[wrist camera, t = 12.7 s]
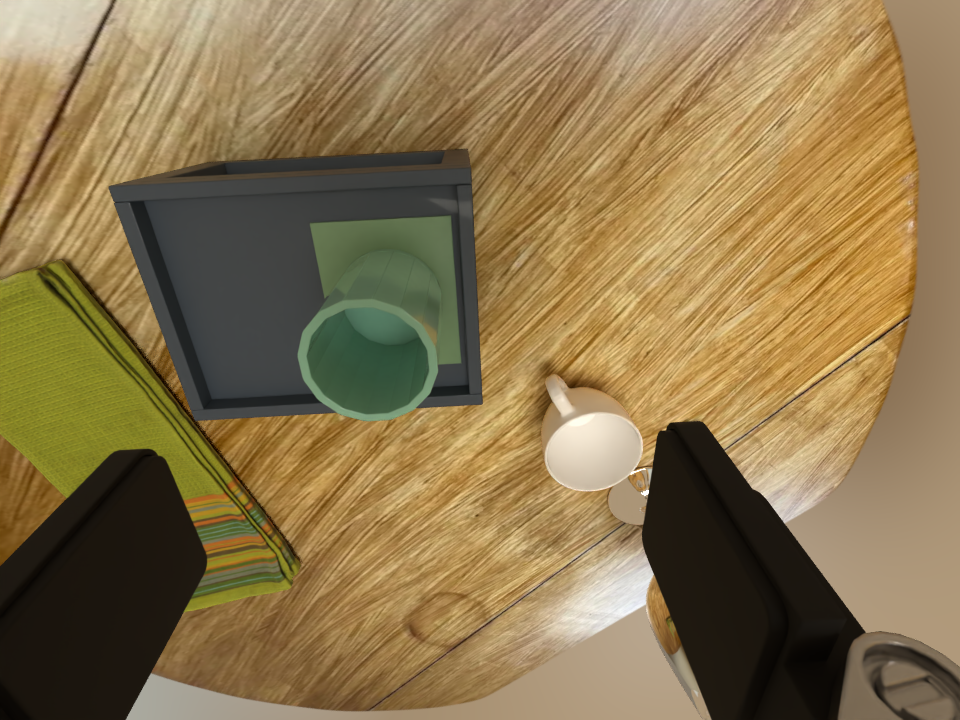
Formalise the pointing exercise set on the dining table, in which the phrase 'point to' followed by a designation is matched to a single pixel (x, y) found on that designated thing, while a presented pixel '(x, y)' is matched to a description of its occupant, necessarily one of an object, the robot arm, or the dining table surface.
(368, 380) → the tumbler
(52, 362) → the dish towel
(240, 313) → the tray
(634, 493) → the wineglass
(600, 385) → the dining table surface
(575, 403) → the cup
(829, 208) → the dining table surface
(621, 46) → the dining table surface
